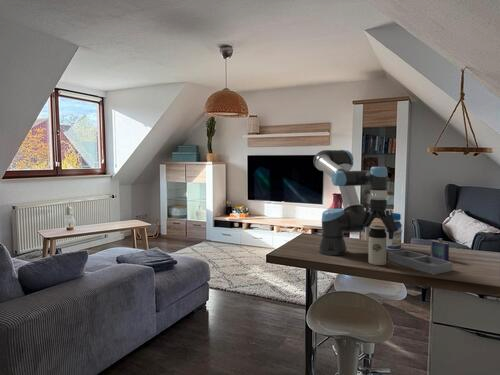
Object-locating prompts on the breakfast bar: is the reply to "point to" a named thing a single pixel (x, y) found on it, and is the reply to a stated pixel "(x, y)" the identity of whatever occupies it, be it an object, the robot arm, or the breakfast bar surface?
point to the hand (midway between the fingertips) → (377, 242)
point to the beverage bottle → (396, 233)
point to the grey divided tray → (420, 262)
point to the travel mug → (377, 245)
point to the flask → (440, 249)
